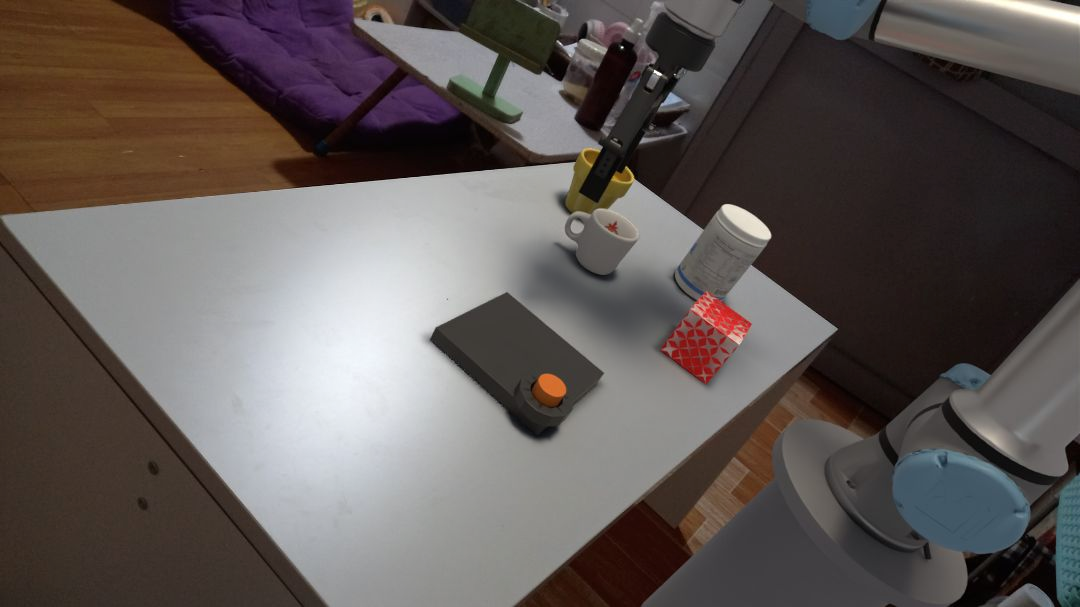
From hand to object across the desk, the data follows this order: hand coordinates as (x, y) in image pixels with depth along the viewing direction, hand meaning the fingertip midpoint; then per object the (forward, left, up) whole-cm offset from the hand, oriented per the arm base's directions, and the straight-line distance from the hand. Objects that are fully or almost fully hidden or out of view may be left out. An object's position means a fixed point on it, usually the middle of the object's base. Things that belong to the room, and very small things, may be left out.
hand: (601, 182), depth 84 cm
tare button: (-14, +25, -13) cm, 31 cm away
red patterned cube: (-22, -7, -16) cm, 29 cm away
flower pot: (+9, -24, -16) cm, 31 cm away
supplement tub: (-15, -27, -16) cm, 35 cm away
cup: (0, -10, -16) cm, 19 cm away
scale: (-8, +20, -16) cm, 27 cm away
